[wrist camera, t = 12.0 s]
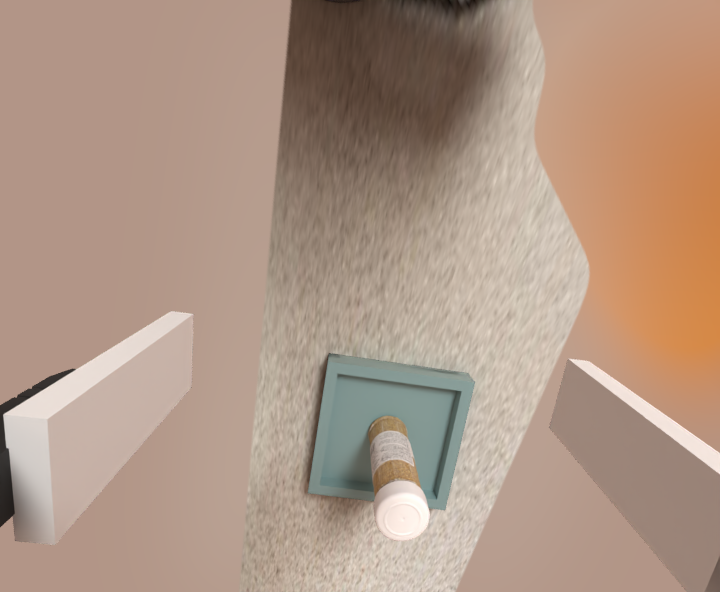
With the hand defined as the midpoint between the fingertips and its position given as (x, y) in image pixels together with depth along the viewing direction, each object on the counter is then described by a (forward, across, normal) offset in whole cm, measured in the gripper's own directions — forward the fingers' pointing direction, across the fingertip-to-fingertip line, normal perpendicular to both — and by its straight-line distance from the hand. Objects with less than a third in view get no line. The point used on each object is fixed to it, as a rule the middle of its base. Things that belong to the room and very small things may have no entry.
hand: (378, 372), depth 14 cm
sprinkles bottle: (+28, +5, -20) cm, 34 cm away
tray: (+29, +5, -20) cm, 35 cm away
